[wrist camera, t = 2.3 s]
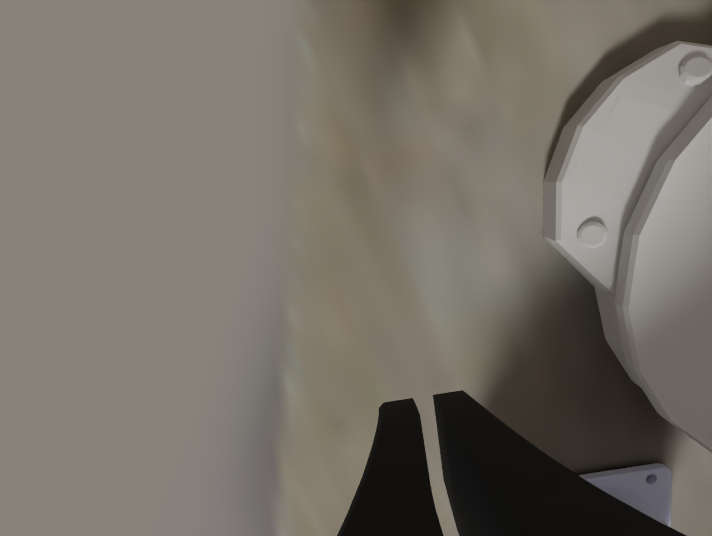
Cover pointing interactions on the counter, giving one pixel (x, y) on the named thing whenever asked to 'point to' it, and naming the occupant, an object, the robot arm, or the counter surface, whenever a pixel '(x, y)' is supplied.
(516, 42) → the counter surface
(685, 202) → the lid
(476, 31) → the counter surface
